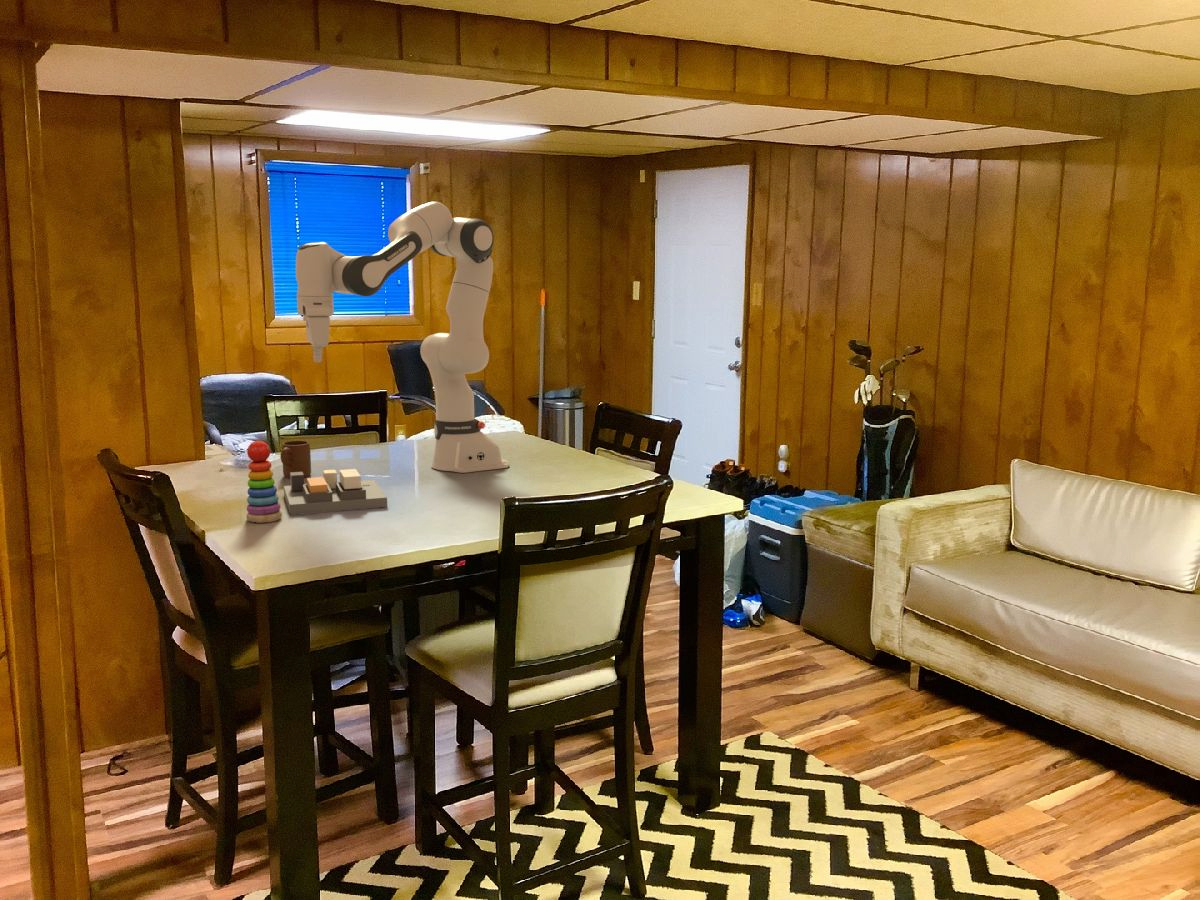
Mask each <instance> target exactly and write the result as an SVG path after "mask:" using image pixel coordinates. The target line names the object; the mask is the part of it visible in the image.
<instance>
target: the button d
mask: <svg viewBox="0 0 1200 900" xmlns="http://www.w3.org/2000/svg"><path fill="white" fill-rule="evenodd" d="M361 478H362V477H361V474H360V473H359V472H358V470H357V469H356V468H350V469H346V468H345V469H339V482H341V484H342V486H343V488H344V489H355V488H361V481H362V479H361Z"/></svg>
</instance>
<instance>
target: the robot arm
mask: <svg viewBox="0 0 1200 900" xmlns="http://www.w3.org/2000/svg"><path fill="white" fill-rule="evenodd" d="M387 232H388V233H387V235H388V240H389V244H388V245H386V246H384V247H383V248H382V249H381V250H379V251H377V253H375V254H372V255H367V254H366V255H358V256H357V255H356V256H354V255H353V256H352V255H346V254H343V253H342V252H339V251H337V250H335V249H334V248H333V247H331V246H330V245H329V243H328V242H324V241H317V242H310V243H308V242H307V243H305V244H302V245H300V246H299V247H298V249H297V252H296V257H295V280H296V282H297V292H296V301H297V305H296V306H297V315H300V316H301V315H302V321H304V322H305V335H306V337H305V339H306V341H307V342H308V343H309V344H310V345H311V347H312V353H313V355H312V357H313V361H314V362H315V363H321V362H322V361H323V350H324V349H323V348H324V347H325V348H327V347H328V346H329V343H330V342H329V341H330V329H331V327H330V326H331V325H330V324H331V317H332V316H333V315H334V313H335V311H334V292H335V293H337V294H346V295H356V296H360V297H370V296H374V295H375V294H377V293H378V292H379V291H380V290H381V289H382V287H383V286H384V284H385V283H386V281H387V280H388V279H389V277H391V276H392V275H393V274H394V273H395V272H397V271H398V270H399V269H401V268H402V267H403V266H405V265H406V264H408V263H409V262H410V261H411V260H412V259H414V258H416V256H417V255H420V254H421V253H423V252H425V251H426V250H428V249H430V250H431V251H432V252H434V253H435V254H437V255H439V256H443V257H451V258H455V263H456V270H455V273H454V275H453V279H452V283H451V286H450V291H449V294H448V296H447V302H446V306H445V311H446V314H447V315H448V318H449V332H448V333H447V332H437V333H433V334H430V335H428V336H427V337H425V338H424V339H423V341H422V343H421V345H420V348H419V349H420V351H419V353H420V357H421V359H422V361H423V362H424V363H425V365H426V367H427V368H428V370H429V374H430V378H431V381H432V384H433V389H434V394H435V395H434V396H435V417H436V418H435V419H434V427H433V428H434V431H433V432H434V439H435V444H434V445H435V447H434V448H435V449H434V455H433V460H432V463H431V468H432V469H435V470H438V471H445V472H455V473H460V474H462V473H472V472H483V471H492V470H500V469H506V468H508V467H509V466H510V464H509V461H508V460H507V459H505V458H503V457H502V455H501V454H502V453H501V449H500V446H499V445H498V443H497V442H495V441H494V440H493V439H492V438H490V437H489V436H488V435H486V434H485V433H483V431H482V430H483V429H485V428H486V423H485V422H484V421H482V420H478V419H477V418H475V394H474V390H473V388H471V386H470V385H469V382H468V381H467V378H466V375H469V374H475V373H479V372H481V371H483V370H484V369H485V368H486V366H487V365H488V363H489V360H490V351H489V347H488V345H487V343H486V342H485V339H484V318H485V313H486V309H487V305H488V304H487V303H488V300H489V296H490V292H491V286H492V281H493V275H494V274H493V273H494V262H493V259H492V257H491V254H492V253H493V247H494V241H495V240H494V231H493V228H492V227H491V225H490V224H489V223H488V222H486V221H485V220H483V219H479V218H475V217H474V218H469V217H461V216H460V217H459V216H458V217H453V215H452V213H451V211H450V209H449V208H448V207H447V206H446V205H445V204H443V203H442V202H439V201H430V202H426V203H424V204H420V205H419V206H416V207H414V208H412V209H410V210H408V211H406V212H405V213H403V214H401V215H400V216H399V217H397V218H396V219H395V220H394V221H392V222H391V224H390V225H389V226H388V231H387Z"/></svg>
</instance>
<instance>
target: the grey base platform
mask: <svg viewBox="0 0 1200 900" xmlns="http://www.w3.org/2000/svg"><path fill="white" fill-rule="evenodd" d="M335 483H336V488H331V489H330V487H329V485H328V483H327V490H328V492H320V493H309V492H308V490H307V483H306V484H305V483H304V484H303V491H292V490H291V485H283V495H284V500H285V503H286V505H287V510H288V512H289V515H290V516H293V515H305V514H307V515H308V514H319V513H331V512H333V511H334V512H343V511H342V510H347V511H355V510H354V509H360V510H368V509H367V508H373V509H379V508H378V507H386V508H388V497H387V496H386V495H385V493H384V491H383V490H382V488H381V487H380V486H379V484H378V483H377V482H376V481H375V479H370V480H369V479H368V480H361V488H355V489H344V488H343V486H342V484H341V482H340V481H337V482H335Z"/></svg>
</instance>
